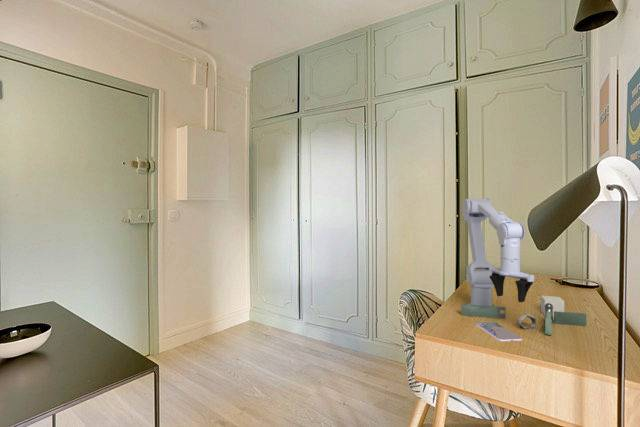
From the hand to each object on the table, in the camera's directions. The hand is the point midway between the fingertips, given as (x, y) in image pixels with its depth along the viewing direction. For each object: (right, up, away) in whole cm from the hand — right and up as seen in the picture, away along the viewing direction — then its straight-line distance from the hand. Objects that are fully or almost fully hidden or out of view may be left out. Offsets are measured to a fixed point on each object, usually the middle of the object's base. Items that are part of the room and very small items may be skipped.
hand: (510, 298), depth 108 cm
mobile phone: (-6, -10, -3) cm, 12 cm away
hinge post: (+20, -9, +2) cm, 22 cm away
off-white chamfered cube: (+23, -9, +13) cm, 28 cm away
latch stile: (-4, -9, +11) cm, 15 cm away
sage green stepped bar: (+11, -9, -3) cm, 14 cm away
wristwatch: (+5, -10, -1) cm, 11 cm away
